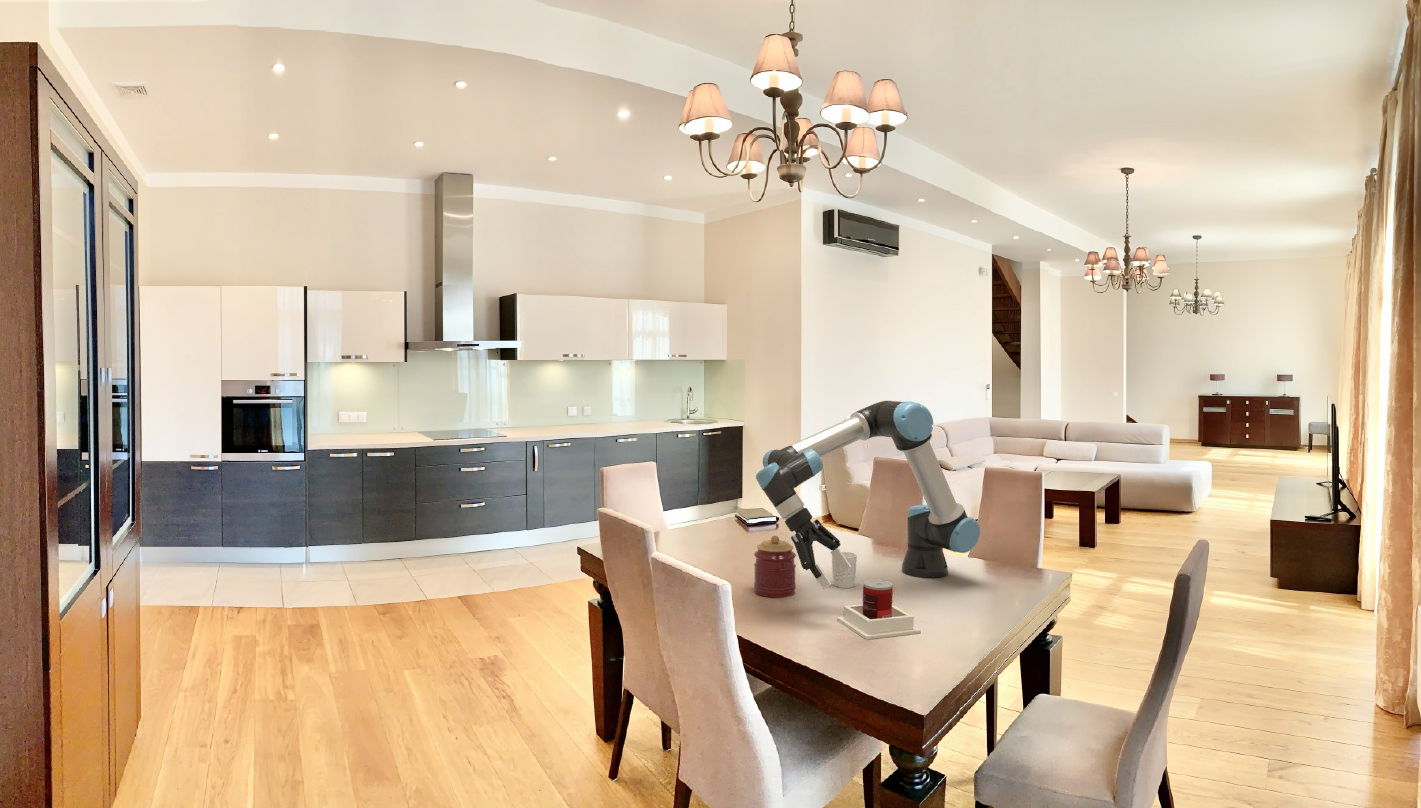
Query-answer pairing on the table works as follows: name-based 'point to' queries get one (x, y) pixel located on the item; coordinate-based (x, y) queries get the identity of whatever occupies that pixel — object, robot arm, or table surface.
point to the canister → (774, 568)
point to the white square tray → (878, 623)
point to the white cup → (846, 577)
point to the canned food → (877, 599)
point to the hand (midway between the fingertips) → (837, 577)
